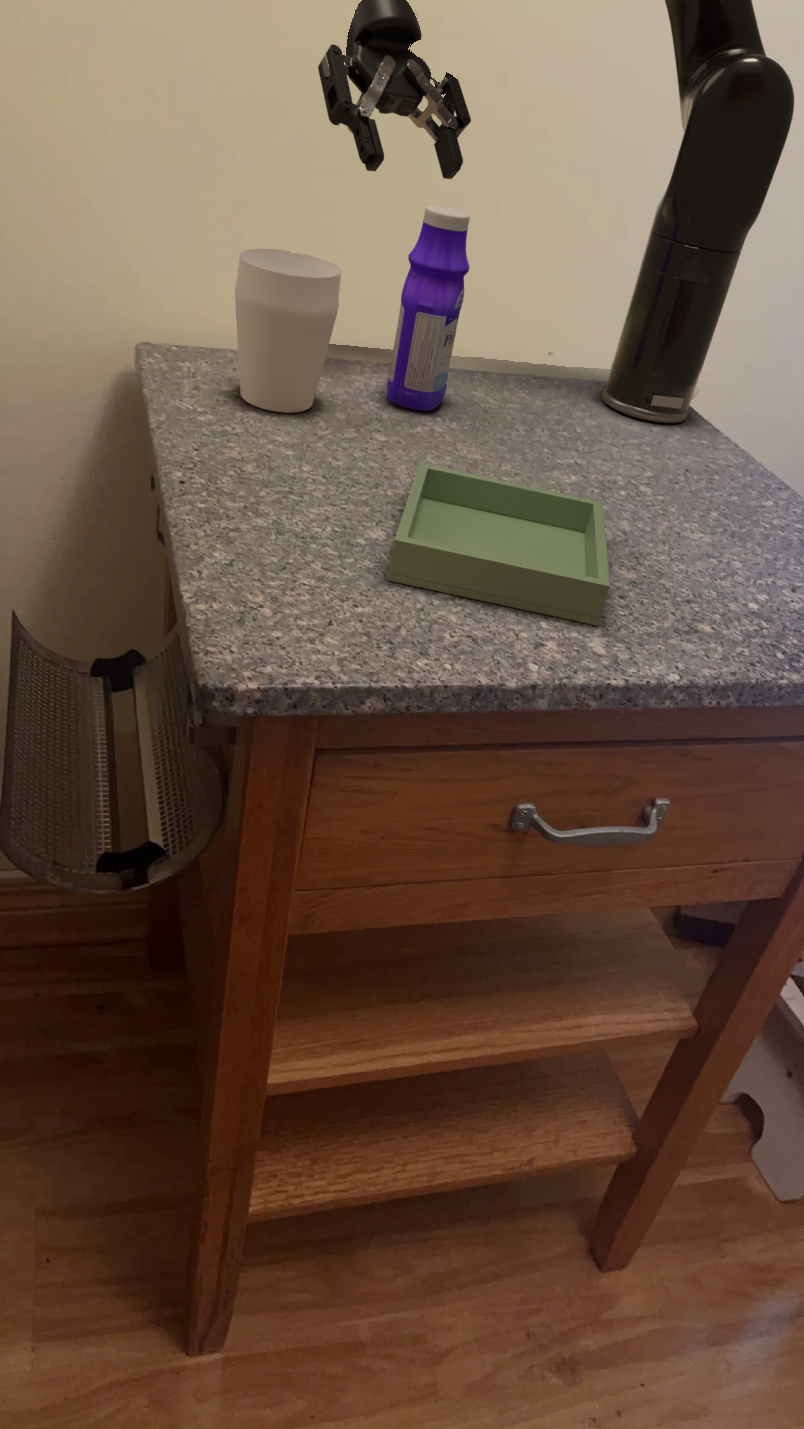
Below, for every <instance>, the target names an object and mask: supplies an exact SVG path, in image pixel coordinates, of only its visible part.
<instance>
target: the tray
mask: <svg viewBox="0 0 804 1429" xmlns="http://www.w3.org/2000/svg"><path fill="white" fill-rule="evenodd" d="M605 522H606V521H605V512H604V503H603V501H601V500H596V499H591V498H586V497H582V496H577V495H573V494H569V493H564V492H558V491H554V490H550V489H545V488H541V487H534V486H530V485H527V484H522V483H516V482H512V481H507V480H504V479H499V478H494V477H489V476H484V475H480V474H476V473H470V472H466V471H461V470H456V469H452V468H447V467H444V466H438V465H434V464H429V463H424V462H419V463H418V465H417V467H416V472H415V475H414V478H413V481H412V484H411V487H410V490H409V493H408V497H407V499H406V503H405V505H404V509H403V512H402V516H401V517H400V521H399V524H398V528H397V531H396V534H395V537H394V539H393V546H392V552H391V556H390V562H389V567H388V573H387V578H386V580H387V581H389V582H393V583H398V584H403V585H406V586H407V585H408V586H412V587H416V588H421V589H425V590H431V591H435V592H440V593H445V594H450V595H454V596H458V597H463V598H467V599H472V600H477V601H482V602H487V603H490V604H494V605H500V606H505V607H510V608H514V609H518V610H523V611H528V612H533V613H537V614H541V615H547V616H551V617H556V618H559V619H564V620H570V621H573V622H579V623H583V624H588V625H593V626H598V625H599V622H600V619H601V617H602V612H603V610H604V606H605V604H606V600H607V597H608V596H609V595H608V594H609V592H610V589H611V581H610V568H609V558H608V547H607V536H606V524H605Z"/></svg>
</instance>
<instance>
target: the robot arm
mask: <svg viewBox="0 0 804 1429" xmlns="http://www.w3.org/2000/svg"><path fill="white" fill-rule="evenodd" d="M664 3H665V7H666V11H667V16H668V20H669V26H670V33H671V39H672V46H673V54H674V61H675V69H676V78H677V88H678V100H679V112H680V121H681V127H682V130H683V136H682V139H681V142H680V147H679V150H678V153H677V155H676V160H675V163H674V166H673V170H672V172H671V176H670V180H669V182H668V184H667V186H666V189H665V192H664V194H663V196H662V197H661V199H660V200H659V202H658V204H657V207H656V210H655V212H654V217H653V221H652V224H651V227H650V232H649V235H648V239H647V242H646V244H645V248H644V252H643V256H642V259H641V263H640V267H639V270H638V274H637V276H636V277H637V278H636V280H635V284H634V288H633V291H632V295H631V298H630V301H629V305H628V308H627V312H626V315H625V319H624V322H623V325H622V329H621V332H620V336H619V340H618V343H617V347H616V350H615V353H614V357H613V360H612V363H611V367H610V369H609V374H608V377H607V381H606V384H605V386H604V387H603V390H602V391H603V392H602V394H601V399H602V401H603V402H604V403H605V404H606V406H609V407H610V408H611V409H614V410H615V411H618V412H620V413H622V414H624V415H626V416H630V417H633V418H636V419H640V420H644V421H647V422H654V423H663V424H676V423H681V422H684V421H685V420H687V417H688V414H689V412H690V405H691V402H692V399H693V396H694V393H695V390H696V387H697V385H698V382H699V380H700V379H699V378H700V376H701V373H702V370H703V367H704V364H705V361H706V358H707V355H708V353H709V349H710V346H711V343H712V340H713V337H714V333H715V332H716V329H717V325H718V322H719V319H720V316H721V313H722V311H723V308H724V305H725V301H726V298H727V296H728V293H729V289H730V286H731V284H732V280H733V277H734V275H735V272H736V269H737V265H738V262H739V259H740V257H741V253H742V251H743V247H744V245H745V242H746V239H747V236H748V234H749V232H750V231H751V229H752V227H753V226H754V225H755V223H756V221H757V219H758V217H759V215H760V213H761V211H762V208H763V206H764V203H765V200H766V197H767V195H768V192H769V189H770V186H771V185H772V181H773V178H774V175H775V174H776V170H777V169H778V168H777V167H778V165H779V162H780V159H781V156H782V153H783V150H784V147H785V145H786V142H787V139H788V136H789V133H790V129H791V126H792V121H793V117H794V111H795V92H794V87H793V83H792V81H791V79H790V76H789V74H788V73H787V72H786V70H785V68H784V67H783V66H781V65H780V63H778V62H777V61H776V60H774V59H773V58H771V57H768V56H767V54H766V51H765V48H764V44H763V40H762V37H761V34H760V30H759V26H758V21H757V17H756V12H755V8H754V4H753V1H752V0H664ZM417 19H418V17H417V18H416V16H415V13H414V12H413V10H412V8H411V6H410V5H409V3H408V2H407V1H406V0H362V1H361V2H360V3H359V4H358V7H357V9H356V10H355V14H354V17H353V19H352V22H351V25H350V29H349V32H348V36H347V37H348V39H347V47H346V56H345V55H342V51H341V49H340V46H338V45H337V44H331V45H330V46H329V47H328V49H327V50H326V52H325V54H324V56H323V58H321V61H320V62H319V64H318V66H317V69H318V70H317V71H318V75H319V80H320V84H321V89H322V93H323V94H322V95H323V98H324V103H325V107H326V114H327V117H328V120H329V123H331V124H332V125H333V126H340V125H341V124H342V125H344V126H346V127H347V129H348V131H349V132H350V133H351V134H352V136H353V140H354V142H355V146H356V150H357V154H358V157H359V158H358V159H359V160H360V162H361V163H362V164H363V165H364V166H365V170H366V171H368V172H376V171H377V170H378V169H379V167H380V166H381V165H382V164H383V162H384V160H385V152H384V148H383V144H382V142H381V136H380V133H379V129H378V126H377V122H376V119H375V118H371V116H372V115H373V113H374V110H375V109H376V110H378V113H379V114H383V115H388V114H395V115H397V116H400V117H405V118H406V117H407V118H408V119H409V120H410V121H411V122H412V123H413V125H415V126H416V127H417V128H418V129H424V130H425V132H426V133H427V134H428V135H429V136H430V137H431V138H432V140H433V141H434V143H433V146H434V149H435V154H436V157H437V161H438V165H439V168H440V172H441V175H442V178H443V180H444V179H445V180H453V178H454V177H455V176H456V175H457V174H458V173H459V172H460V171H461V168H462V165H463V164H464V157H463V155H462V150H461V147H460V144H459V143H460V142H459V139H458V138H459V137H460V135H461V134H462V133H463V132H464V130H465V129H466V128H467V127H468V126H469V125H470V124H471V122H472V118H471V114H470V112H469V109H468V105H467V103H466V99H465V97H464V96H465V95H464V94H463V90H462V88H461V84H460V80H459V78H458V79H456V78H455V77H453V75H451V74H449V73H447V72H446V75H445V77H444V79H443V80H442V81H441V83H440V82H437V81H436V80H435V79H434V78H432V77H431V72H430V70H431V69H430V67H429V65H428V64H427V62H426V61H425V60H424V61H423V59H424V58H423V59H421V58H420V57H417V56H416V55H415V54H414V53H412V51H411V52H410V49H409V50H408V48H409V46H410V47H411V45H412V44H413V43H414V42H416V41H418V40H421V37H422V38H423V36H422V30H420V29H421V26H420V22H419V20H418V21H417ZM418 22H419V23H418ZM410 44H411V45H410ZM348 79H349V80H350V82H352V84H353V85H354V86H355V87H356V89H357V90H358V91H359V92H360V96H359V98H358V100H357V102H356V103H353V102H354V101H353V98H352V93H351V89H350V84H349V80H348ZM430 79H431V80H433V82H434V84H435V87H434V86H433V85H432V84H431V83H430ZM442 94H443V95H444V94H446V95H445V96H444V98H443V97H442V96H441V95H442ZM424 98H425V99H426V100H427V106H426V107H425V108H424V109H423V110H421V109H419V106H420V104H421V103H422V101H423V99H424ZM433 115H434V116H435V117H436V118H437V119H438V120H439V121H440V123H441V124H440V125H439V124H438V123H436V121H435V120H434V118H433Z"/></svg>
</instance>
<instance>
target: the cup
mask: <svg viewBox="0 0 804 1429" xmlns="http://www.w3.org/2000/svg"><path fill="white" fill-rule="evenodd" d="M341 275H342V270H341V268H340V267H339V266H338V265H336V264H334V263H333V262H331V261H328V260H326V259H324V258H323V259H322V258H320V257H316V256H313V255H310V254H306V253H300V252H296V251H290V250H282V249H273V248H253V249H252V248H251V249H246V250H244V251H241V252H240V253H239V259H238V267H237V275H236V281H235V286H234V301H235V304H234V305H235V320H236V338H237V356H238V357H237V358H238V372H239V388H240V389H239V390H240V391H239V392H240V393H239V394H240V396H241V399H243V400H244V401H245V402H246V403H248V404H250V405H251V406H253V407H255V408H258V409H261V410H264V411H265V410H266V411H270V412H275V413H285V414H291V413H292V414H294V413H301V412H304V411H307V410H308V409H311V408H312V407H313V404H314V400H315V396H316V394H317V390H318V386H319V382H320V378H321V374H322V371H323V368H324V363H325V360H326V356H327V352H328V349H329V346H330V341H331V338H332V334H333V330H334V327H335V323H336V319H337V317H338V316H337V315H338V312H339V307H340V290H341V289H340V287H341V278H342V276H341Z"/></svg>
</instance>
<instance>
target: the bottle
mask: <svg viewBox="0 0 804 1429" xmlns="http://www.w3.org/2000/svg"><path fill="white" fill-rule="evenodd" d="M470 218H471V215H470V214H469V213H468V212H466V211H464V210H463V209H459V208H455V207H452V206H446V205H438V204H437V205H436V204H430V205H427V206H425V208H424V214H423V218H422V225H421V228H420V232H419V236H418V240H417V241H416V243H415V245H414V246H413V248H412V250H411V251H410V252H409V253H408V262H409V265H410V266H409V267H410V268H409V270H408V272H407V274H406V277H405V279H404V280H405V281H404V282H403V283H404V284H403V287H402V291H401V296H400V306H399V313H398V319H397V325H396V332H395V338H394V342H393V349H392V355H391V360H390V366H389V373H388V378H387V381H386V393H387V397H388V400H390V402H391V403H393V404H394V405H397V406H399V407H401V408H406V409H410V410H413V411H419V412H426V411H427V412H428V411H431V410H434V409H436V408H437V407H438V406H440V405H441V403H442V401H443V399H444V397H445V395H446V392H447V388H448V384H447V382H448V377H449V372H450V365H451V359H452V355H453V350H454V346H455V345H454V344H455V338H456V334H457V327H458V324H459V317H460V313H461V311H462V310H461V309H462V306H463V303H464V297H465V276H466V275H467V274H468V273H469V270H470V264H469V260H468V256H467V239H468V238H467V236H468V231H469V224H470Z"/></svg>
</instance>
